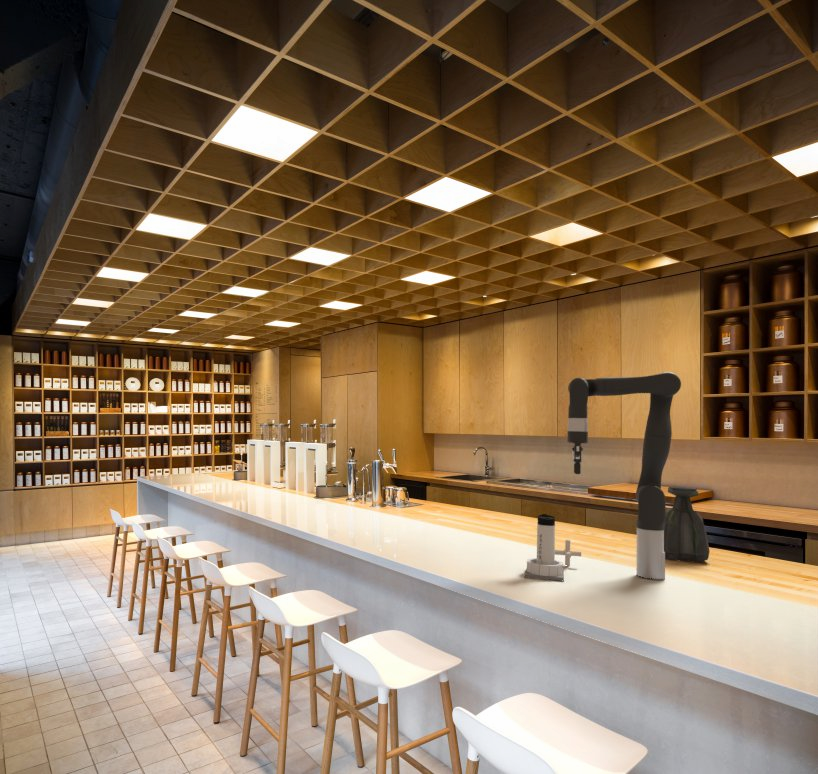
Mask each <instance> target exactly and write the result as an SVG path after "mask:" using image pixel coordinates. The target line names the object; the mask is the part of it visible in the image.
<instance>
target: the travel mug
mask: <svg viewBox="0 0 818 774" xmlns="http://www.w3.org/2000/svg"><path fill="white" fill-rule="evenodd" d="M536 527H537V529H536V533H537V534H536V558H537V564H542V565H554V563H555V560H556V559H555V550H556V547H555V545H556V517H555V516H553V515H550V514H546V513H541V514H539V515H537V526H536Z"/></svg>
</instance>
